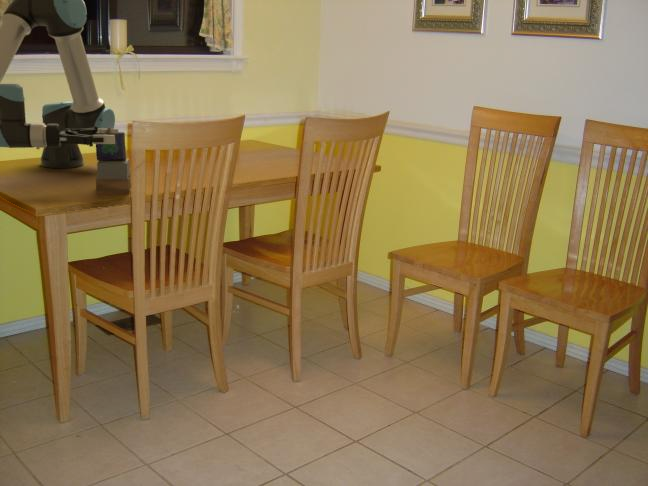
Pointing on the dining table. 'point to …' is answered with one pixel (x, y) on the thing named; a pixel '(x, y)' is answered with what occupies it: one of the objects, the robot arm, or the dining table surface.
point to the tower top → (113, 169)
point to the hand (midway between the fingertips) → (116, 136)
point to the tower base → (113, 186)
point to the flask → (111, 147)
